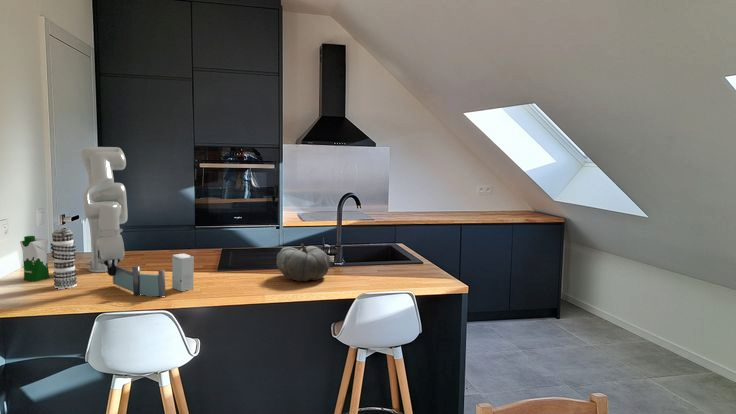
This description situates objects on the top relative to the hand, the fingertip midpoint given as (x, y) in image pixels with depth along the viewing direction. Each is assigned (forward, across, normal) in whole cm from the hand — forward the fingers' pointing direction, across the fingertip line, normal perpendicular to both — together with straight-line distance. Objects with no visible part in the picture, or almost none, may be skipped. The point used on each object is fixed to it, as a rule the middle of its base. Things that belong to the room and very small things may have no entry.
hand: (112, 275), depth 218 cm
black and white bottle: (+6, +11, -19) cm, 23 cm away
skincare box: (+6, -20, +22) cm, 30 cm away
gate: (+5, -3, +5) cm, 8 cm away
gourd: (+7, -66, +49) cm, 83 cm away
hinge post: (+6, -2, +16) cm, 17 cm away
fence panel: (+6, -6, +22) cm, 24 cm away
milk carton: (+6, +14, -42) cm, 44 cm away
